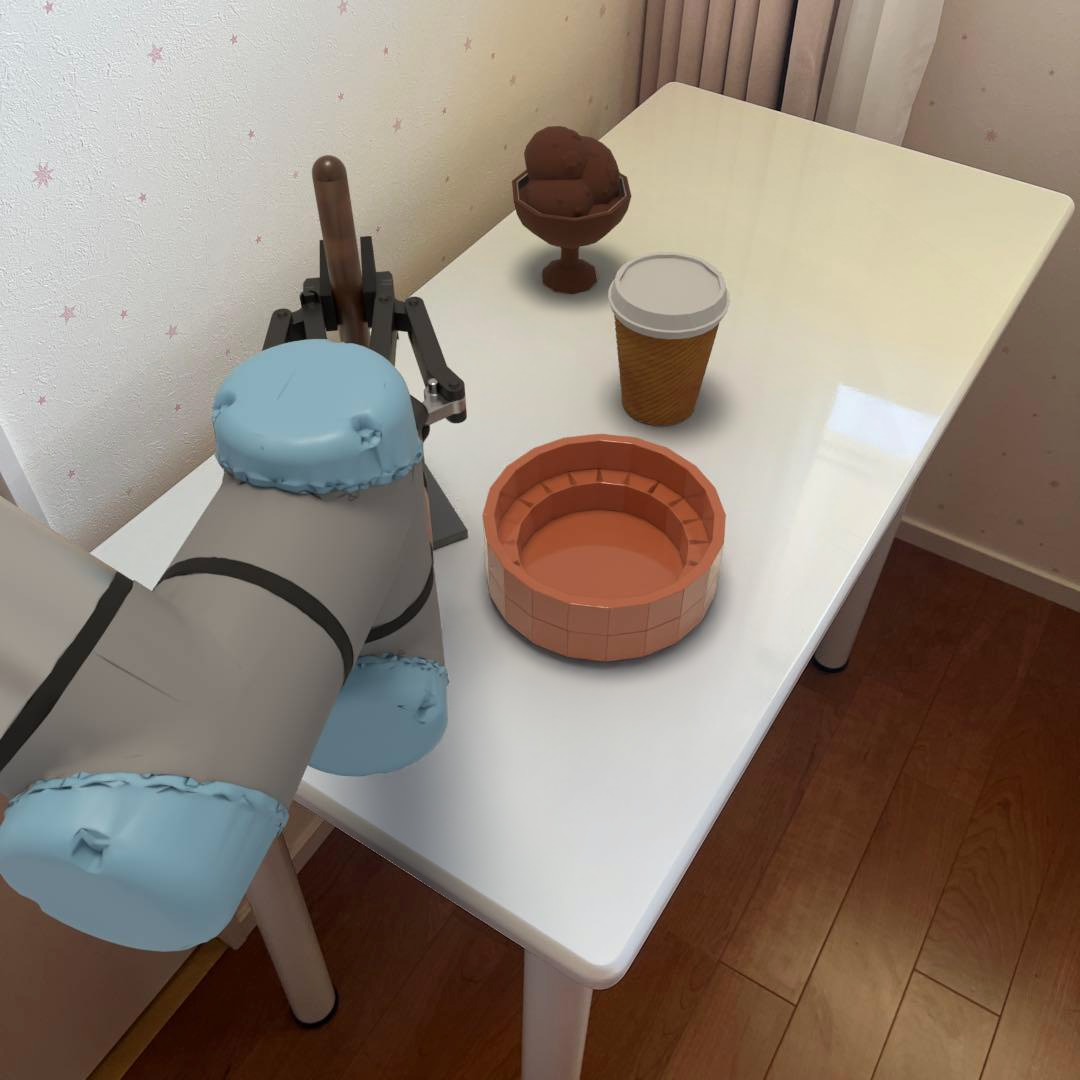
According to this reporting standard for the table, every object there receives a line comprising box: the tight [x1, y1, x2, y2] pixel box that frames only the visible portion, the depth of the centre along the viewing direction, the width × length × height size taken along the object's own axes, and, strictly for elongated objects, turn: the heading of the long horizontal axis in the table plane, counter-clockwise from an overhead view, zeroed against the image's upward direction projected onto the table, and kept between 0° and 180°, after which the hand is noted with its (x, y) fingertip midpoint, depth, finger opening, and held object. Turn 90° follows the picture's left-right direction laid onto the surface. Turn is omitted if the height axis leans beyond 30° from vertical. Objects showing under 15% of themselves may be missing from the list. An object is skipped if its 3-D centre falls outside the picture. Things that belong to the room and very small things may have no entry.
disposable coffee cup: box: [607, 251, 731, 427], centre depth 90 cm, size 10×10×12 cm
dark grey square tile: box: [425, 463, 469, 550], centre depth 85 cm, size 10×10×1 cm
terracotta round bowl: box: [482, 433, 727, 662], centre depth 78 cm, size 17×17×6 cm
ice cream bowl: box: [511, 125, 632, 295], centre depth 102 cm, size 11×11×15 cm
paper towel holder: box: [311, 154, 371, 349], centre depth 72 cm, size 7×7×23 cm
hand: (348, 255), depth 74 cm, fingers closed on paper towel holder, 2 cm apart
